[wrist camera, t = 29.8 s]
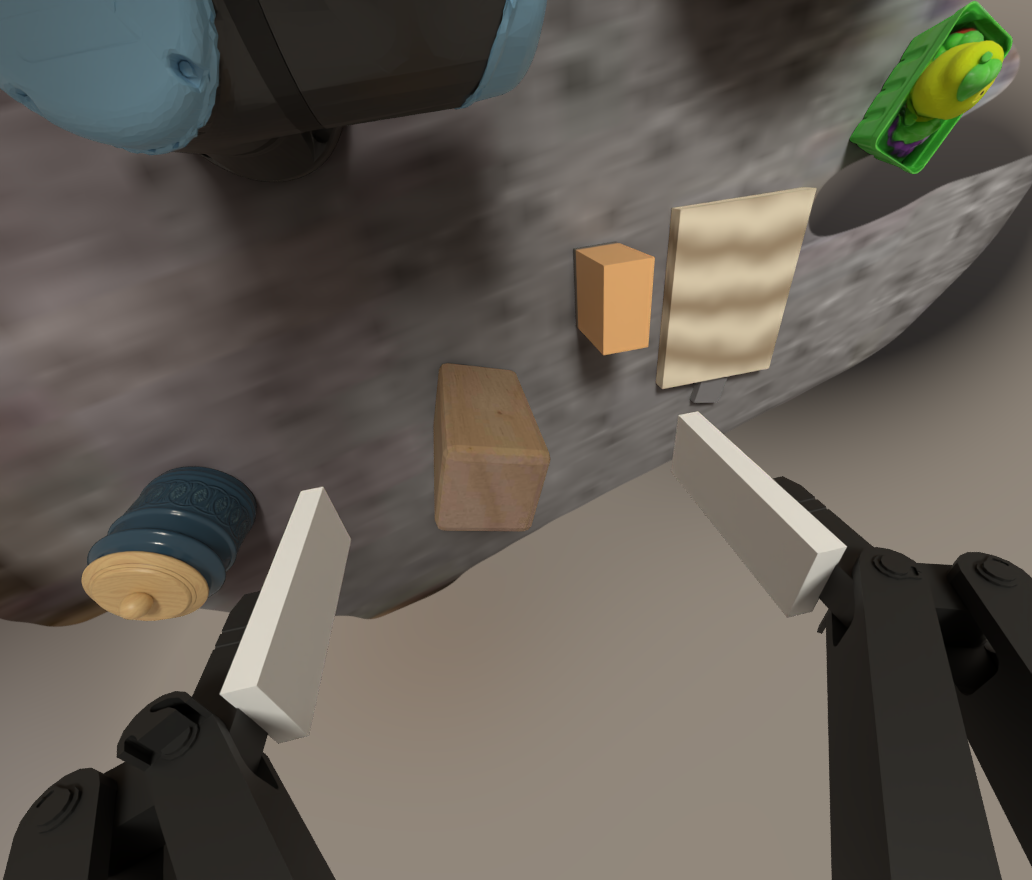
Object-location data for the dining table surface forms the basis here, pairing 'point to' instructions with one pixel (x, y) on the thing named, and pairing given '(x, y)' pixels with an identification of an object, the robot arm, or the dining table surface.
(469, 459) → the wooden block
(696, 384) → the gray square block
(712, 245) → the birch board
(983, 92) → the fruit basket
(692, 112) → the dining table surface
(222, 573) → the canister
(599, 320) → the block
